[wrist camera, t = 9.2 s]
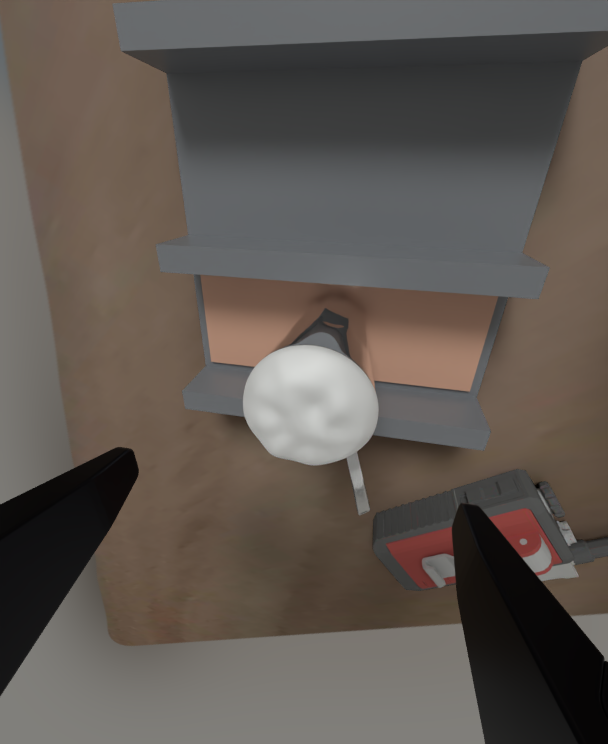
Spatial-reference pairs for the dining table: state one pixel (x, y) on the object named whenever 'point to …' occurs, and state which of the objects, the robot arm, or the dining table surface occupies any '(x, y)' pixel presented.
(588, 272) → the dining table surface
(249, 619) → the dining table surface
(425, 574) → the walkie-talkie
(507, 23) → the grey slotted tray
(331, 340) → the milkshake
